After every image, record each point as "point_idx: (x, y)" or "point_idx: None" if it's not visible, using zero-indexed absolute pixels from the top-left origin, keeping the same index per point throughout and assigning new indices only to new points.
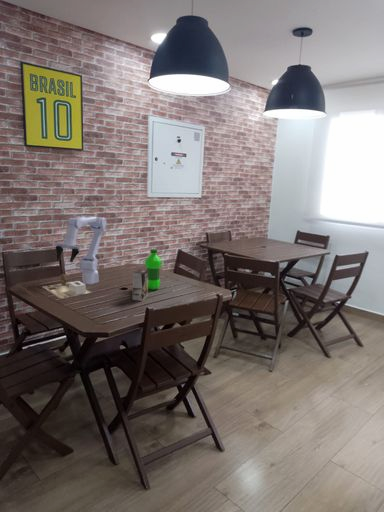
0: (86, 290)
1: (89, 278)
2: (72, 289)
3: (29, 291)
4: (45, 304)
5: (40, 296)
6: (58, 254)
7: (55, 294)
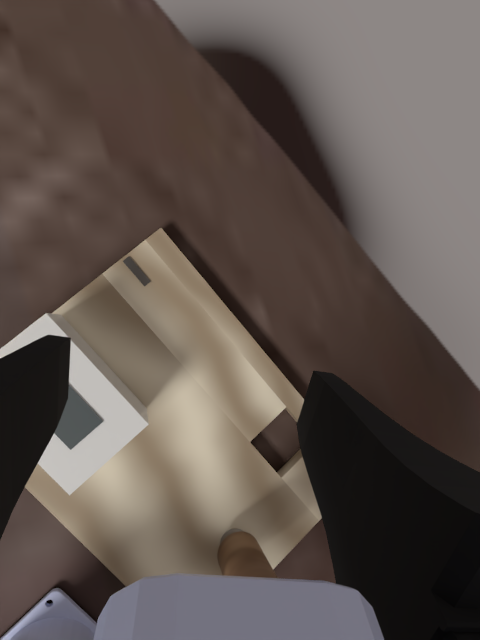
0: None
1: None
2: (103, 366)
3: (406, 393)
4: (229, 151)
5: (311, 304)
6: (356, 413)
7: (220, 312)
